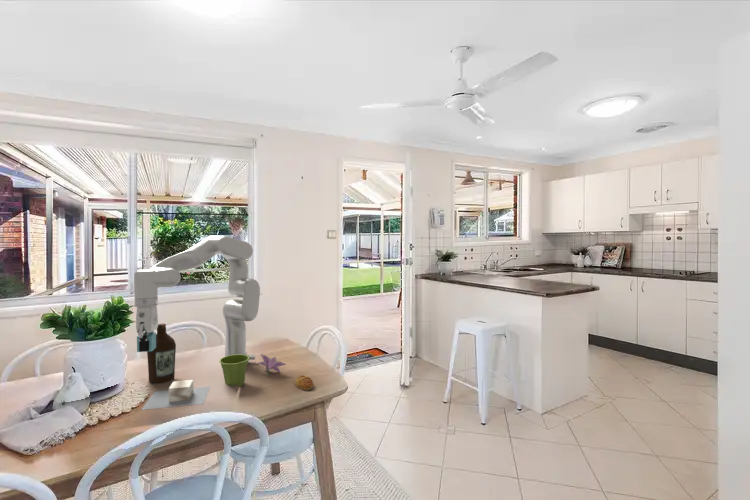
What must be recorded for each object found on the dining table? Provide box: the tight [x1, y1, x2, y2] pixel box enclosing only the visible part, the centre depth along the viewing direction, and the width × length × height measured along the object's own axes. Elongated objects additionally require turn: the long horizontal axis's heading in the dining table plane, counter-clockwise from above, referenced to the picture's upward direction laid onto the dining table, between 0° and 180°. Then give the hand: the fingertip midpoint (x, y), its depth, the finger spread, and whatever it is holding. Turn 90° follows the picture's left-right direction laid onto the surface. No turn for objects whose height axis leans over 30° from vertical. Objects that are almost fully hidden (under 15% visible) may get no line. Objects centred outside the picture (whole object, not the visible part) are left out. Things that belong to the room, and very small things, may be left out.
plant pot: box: [219, 354, 250, 387], centre depth 155 cm, size 12×12×11 cm
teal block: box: [136, 331, 157, 353], centre depth 142 cm, size 5×5×6 cm
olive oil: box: [146, 323, 177, 385], centre depth 157 cm, size 11×11×25 cm
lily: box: [257, 354, 287, 378], centre depth 168 cm, size 12×12×10 cm
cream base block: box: [168, 379, 194, 402], centre depth 140 cm, size 7×7×5 cm
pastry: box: [294, 374, 315, 391], centre depth 155 cm, size 9×7×4 cm
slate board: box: [141, 386, 211, 411], centre depth 140 cm, size 20×16×2 cm
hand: (146, 348), depth 142 cm, fingers closed on teal block, 5 cm apart
